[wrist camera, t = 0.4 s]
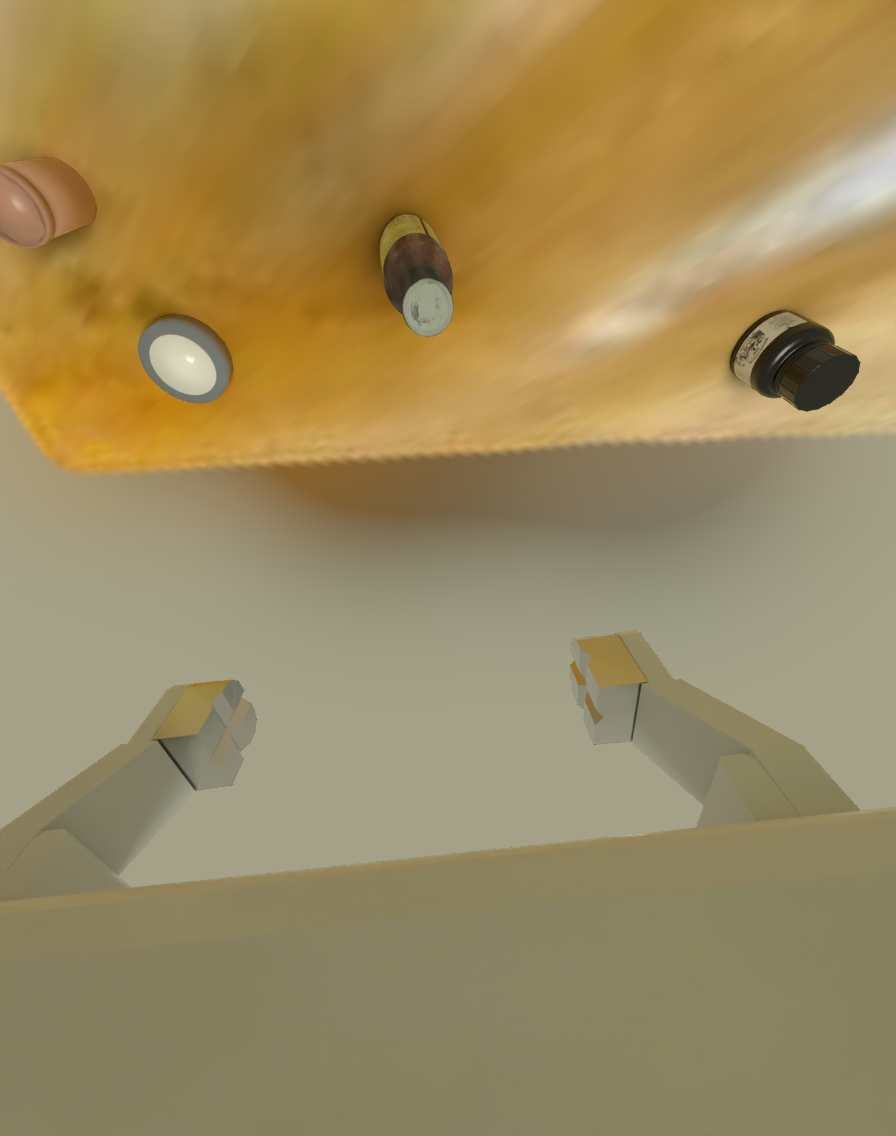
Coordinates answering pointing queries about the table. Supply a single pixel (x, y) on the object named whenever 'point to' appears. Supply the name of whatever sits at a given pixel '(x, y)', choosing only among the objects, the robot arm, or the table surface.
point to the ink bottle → (794, 361)
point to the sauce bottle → (417, 274)
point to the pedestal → (185, 358)
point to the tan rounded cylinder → (42, 201)
